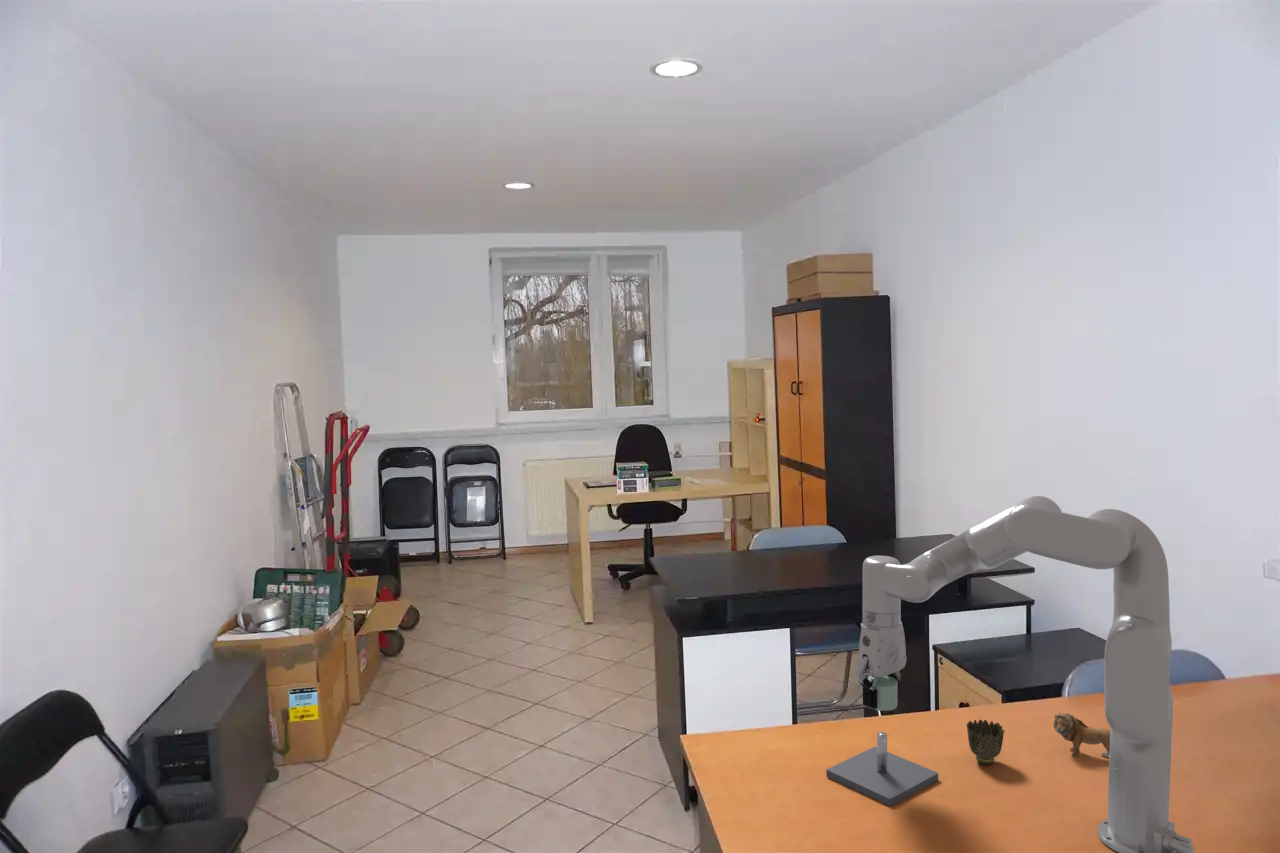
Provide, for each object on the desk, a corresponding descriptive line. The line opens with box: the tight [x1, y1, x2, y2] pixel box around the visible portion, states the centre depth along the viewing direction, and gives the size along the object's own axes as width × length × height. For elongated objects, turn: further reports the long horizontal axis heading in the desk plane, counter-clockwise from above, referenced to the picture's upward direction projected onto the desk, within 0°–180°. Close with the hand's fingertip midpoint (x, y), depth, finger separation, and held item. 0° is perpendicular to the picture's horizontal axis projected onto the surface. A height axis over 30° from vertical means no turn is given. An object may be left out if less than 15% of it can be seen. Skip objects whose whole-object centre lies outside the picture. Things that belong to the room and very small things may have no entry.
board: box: [825, 746, 939, 807], centre depth 186 cm, size 16×16×2 cm
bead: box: [868, 676, 899, 712], centre depth 185 cm, size 6×6×5 cm
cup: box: [966, 719, 1005, 766], centre depth 192 cm, size 8×7×8 cm
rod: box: [876, 731, 888, 774], centre depth 186 cm, size 2×2×8 cm
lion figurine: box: [1053, 711, 1110, 758], centre depth 193 cm, size 15×5×9 cm, turn 66°
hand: (881, 701), depth 185 cm, fingers closed on bead, 6 cm apart
